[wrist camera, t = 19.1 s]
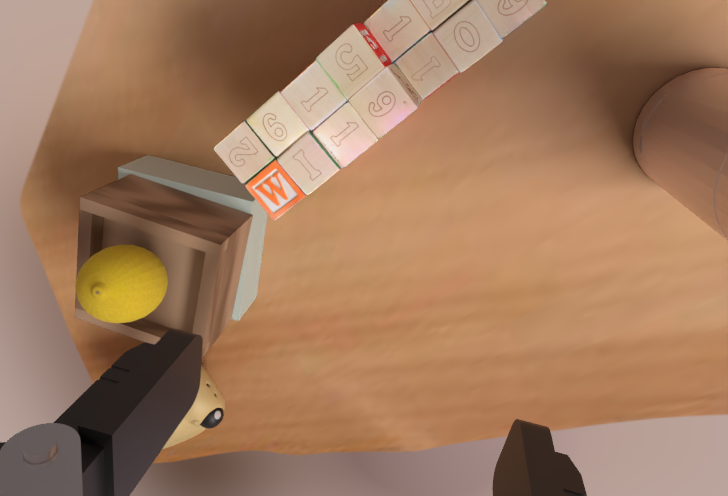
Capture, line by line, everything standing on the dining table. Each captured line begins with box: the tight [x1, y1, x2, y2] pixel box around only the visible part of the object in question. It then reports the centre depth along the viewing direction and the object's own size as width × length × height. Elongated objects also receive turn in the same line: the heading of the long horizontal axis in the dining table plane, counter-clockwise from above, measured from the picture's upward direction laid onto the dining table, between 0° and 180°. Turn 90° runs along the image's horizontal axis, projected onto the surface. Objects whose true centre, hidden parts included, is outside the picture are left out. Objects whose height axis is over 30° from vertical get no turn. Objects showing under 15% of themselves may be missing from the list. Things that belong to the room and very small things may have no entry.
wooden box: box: [75, 174, 253, 358], centre depth 43 cm, size 11×11×6 cm
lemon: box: [76, 245, 168, 323], centre depth 37 cm, size 6×6×8 cm
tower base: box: [118, 155, 268, 321], centre depth 48 cm, size 12×12×5 cm
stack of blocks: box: [214, 0, 547, 220], centre depth 36 cm, size 21×6×12 cm, turn 128°
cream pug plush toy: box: [162, 365, 225, 449], centre depth 52 cm, size 10×12×11 cm
